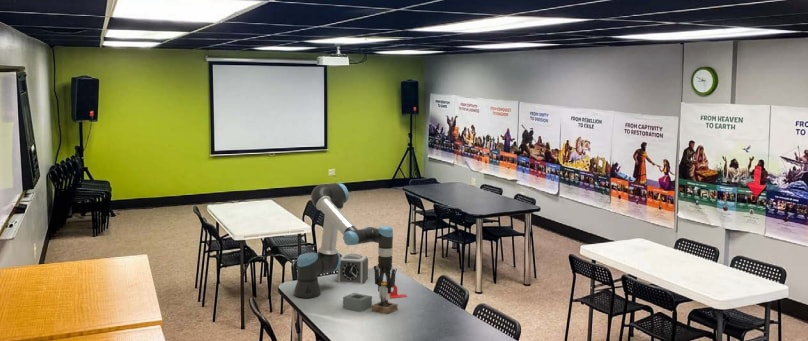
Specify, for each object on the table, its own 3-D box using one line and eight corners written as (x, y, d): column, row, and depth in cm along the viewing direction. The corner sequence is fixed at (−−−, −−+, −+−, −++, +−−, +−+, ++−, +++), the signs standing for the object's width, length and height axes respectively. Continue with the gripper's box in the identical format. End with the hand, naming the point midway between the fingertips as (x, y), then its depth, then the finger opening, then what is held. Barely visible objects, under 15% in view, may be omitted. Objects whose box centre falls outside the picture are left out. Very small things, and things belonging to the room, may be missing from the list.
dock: (342, 307, 342) (343, 297, 341) (353, 303, 350) (353, 292, 350) (361, 311, 336) (361, 300, 335) (371, 307, 344) (371, 296, 344)
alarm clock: (335, 285, 387) (335, 256, 386) (341, 280, 400) (341, 251, 399) (364, 287, 384) (364, 257, 383) (369, 282, 397) (369, 253, 396)
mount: (371, 311, 337) (371, 305, 337) (381, 306, 346) (382, 301, 345) (387, 314, 332) (387, 308, 332) (397, 309, 340) (397, 303, 340)
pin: (378, 306, 338) (378, 282, 337) (383, 304, 342) (383, 280, 341) (385, 308, 336) (386, 283, 335) (390, 306, 340) (390, 281, 338)
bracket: (387, 299, 359) (387, 286, 358) (385, 297, 363) (385, 284, 363) (407, 298, 363) (407, 284, 362) (405, 296, 367) (405, 282, 366)
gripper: (368, 254, 337) (367, 297, 340) (394, 258, 329) (393, 302, 331) (376, 252, 344) (375, 294, 346) (402, 256, 335) (401, 299, 337)
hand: (384, 298), depth 338 cm, fingers closed on pin, 4 cm apart
